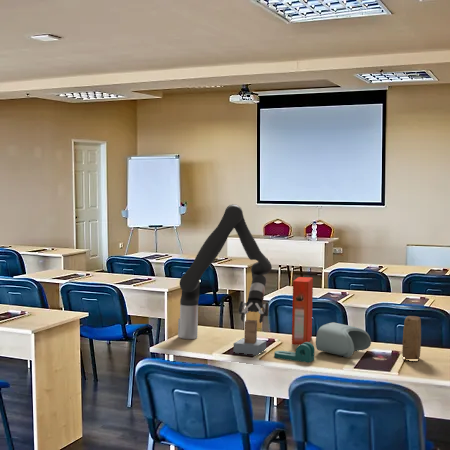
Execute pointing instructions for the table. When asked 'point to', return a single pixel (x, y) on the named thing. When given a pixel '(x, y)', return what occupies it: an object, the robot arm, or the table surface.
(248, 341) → the walnut block
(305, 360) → the bracket
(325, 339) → the grey hollow scoop
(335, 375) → the table surface
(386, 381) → the table surface
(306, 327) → the file binder
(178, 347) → the table surface
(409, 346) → the block
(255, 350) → the slate block
